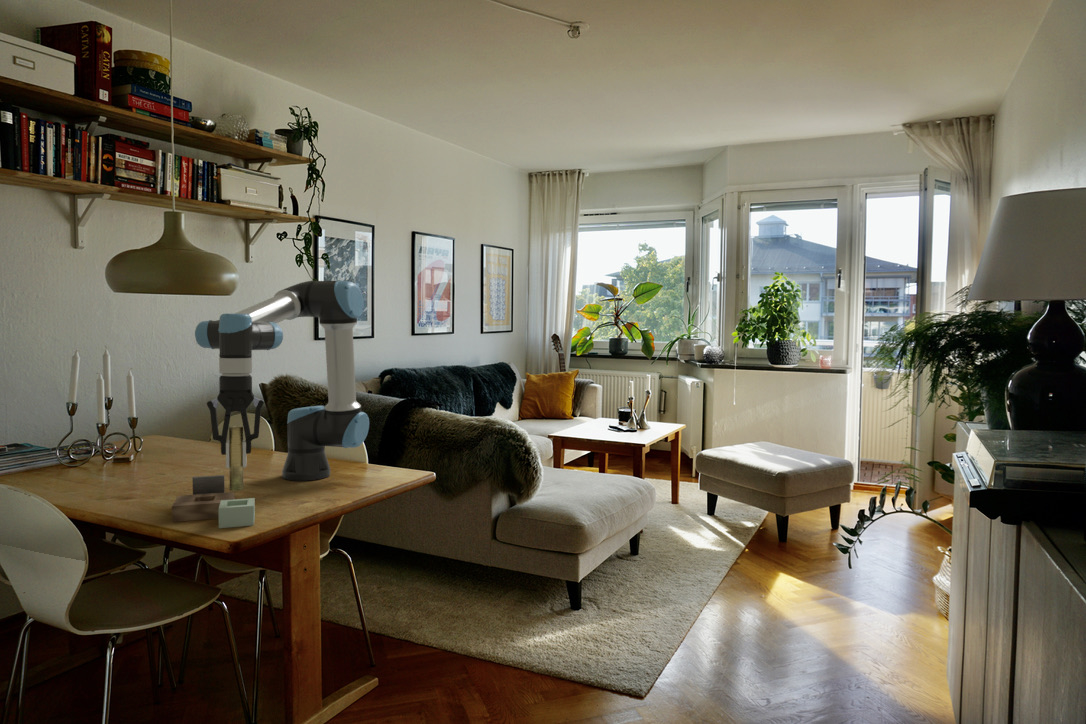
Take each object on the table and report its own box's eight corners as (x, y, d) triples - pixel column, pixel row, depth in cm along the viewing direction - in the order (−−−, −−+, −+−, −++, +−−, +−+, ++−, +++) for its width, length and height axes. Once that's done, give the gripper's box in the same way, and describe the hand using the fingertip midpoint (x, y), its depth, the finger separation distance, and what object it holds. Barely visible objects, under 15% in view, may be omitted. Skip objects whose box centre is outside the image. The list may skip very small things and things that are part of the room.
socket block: (234, 506, 189) (234, 491, 189) (232, 516, 179) (232, 501, 179) (178, 510, 184) (177, 495, 184) (172, 521, 174) (171, 506, 174)
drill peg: (243, 487, 176) (243, 425, 175) (243, 490, 173) (242, 427, 172) (230, 488, 175) (229, 426, 174) (229, 491, 172) (228, 428, 171)
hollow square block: (254, 516, 180) (254, 497, 179) (253, 525, 172) (253, 505, 172) (221, 519, 177) (221, 500, 177) (218, 528, 169) (218, 508, 169)
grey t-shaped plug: (224, 500, 195) (224, 475, 194) (221, 509, 185) (221, 483, 185) (193, 502, 192) (192, 476, 191) (188, 512, 182) (188, 485, 182)
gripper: (270, 373, 179) (270, 462, 180) (201, 373, 173) (202, 465, 174) (270, 375, 172) (270, 467, 173) (198, 376, 166) (199, 471, 167)
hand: (236, 466), depth 174 cm, fingers closed on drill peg, 3 cm apart
